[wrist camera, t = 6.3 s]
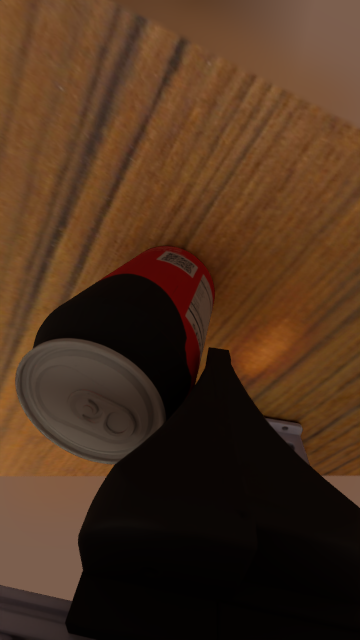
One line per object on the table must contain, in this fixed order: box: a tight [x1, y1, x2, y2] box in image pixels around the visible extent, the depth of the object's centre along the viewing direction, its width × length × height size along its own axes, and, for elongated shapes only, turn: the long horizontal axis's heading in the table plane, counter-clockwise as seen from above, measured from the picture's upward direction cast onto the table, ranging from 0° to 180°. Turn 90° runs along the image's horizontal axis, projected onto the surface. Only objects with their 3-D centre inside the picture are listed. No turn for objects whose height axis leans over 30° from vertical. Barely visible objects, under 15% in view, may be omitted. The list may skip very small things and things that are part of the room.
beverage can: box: [15, 246, 215, 464], centre depth 14 cm, size 6×6×12 cm
